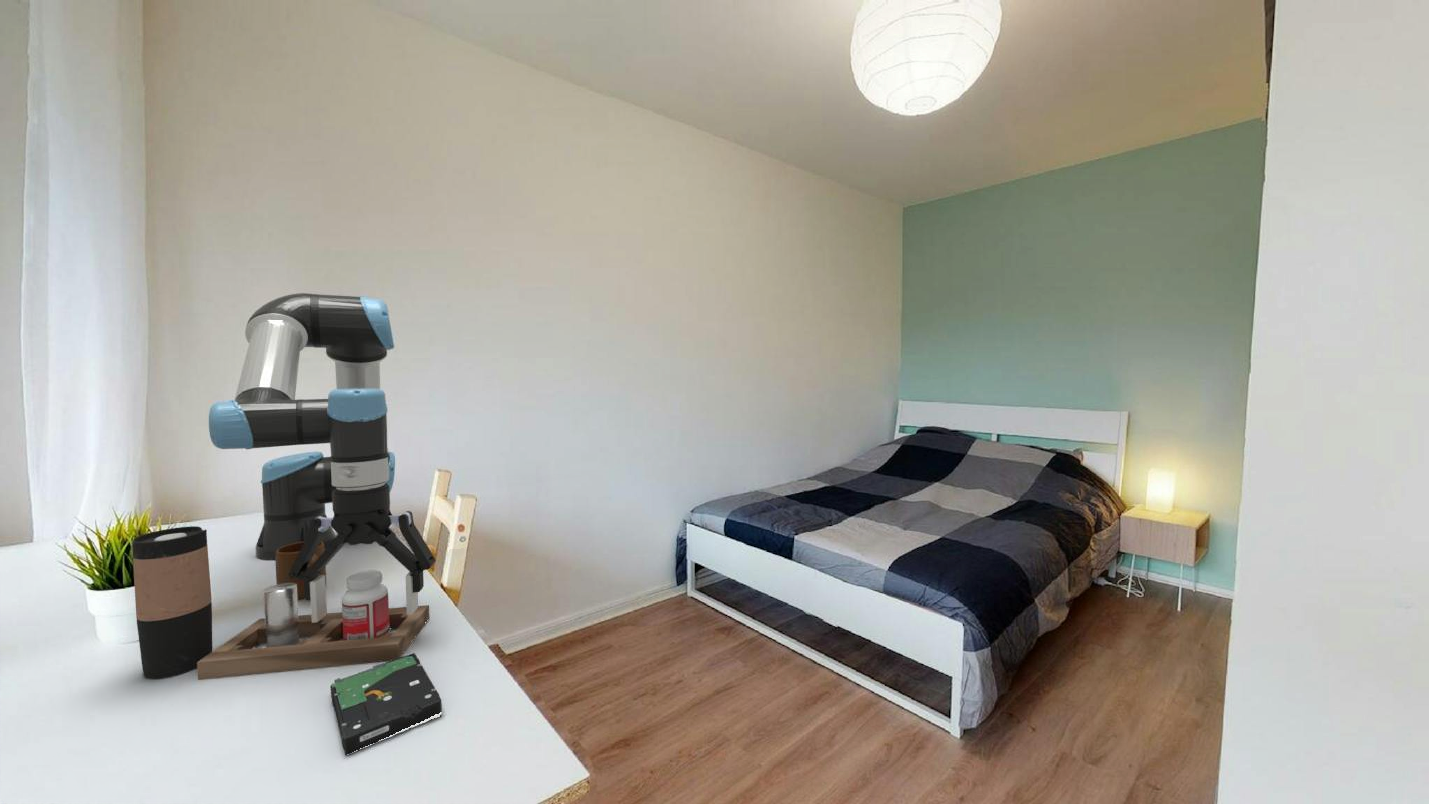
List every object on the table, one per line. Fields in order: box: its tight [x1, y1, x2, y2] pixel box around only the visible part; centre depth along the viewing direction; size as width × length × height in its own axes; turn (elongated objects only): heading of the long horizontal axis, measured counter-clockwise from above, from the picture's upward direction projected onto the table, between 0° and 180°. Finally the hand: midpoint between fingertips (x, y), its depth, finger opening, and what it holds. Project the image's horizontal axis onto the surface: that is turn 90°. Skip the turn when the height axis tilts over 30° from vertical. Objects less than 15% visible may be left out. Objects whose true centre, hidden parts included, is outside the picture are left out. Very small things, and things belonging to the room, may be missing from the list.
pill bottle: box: [341, 569, 391, 641], centre depth 82 cm, size 6×6×11 cm
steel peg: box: [262, 583, 301, 648], centre depth 79 cm, size 4×4×10 cm
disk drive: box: [330, 652, 443, 756], centre depth 67 cm, size 10×3×15 cm
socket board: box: [196, 604, 430, 680], centre depth 81 cm, size 13×26×2 cm, turn 101°
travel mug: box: [131, 525, 213, 680], centre depth 75 cm, size 8×8×20 cm
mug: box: [274, 541, 327, 600], centre depth 99 cm, size 12×8×9 cm, turn 54°
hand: (366, 614), depth 82 cm, fingers open, 13 cm apart
